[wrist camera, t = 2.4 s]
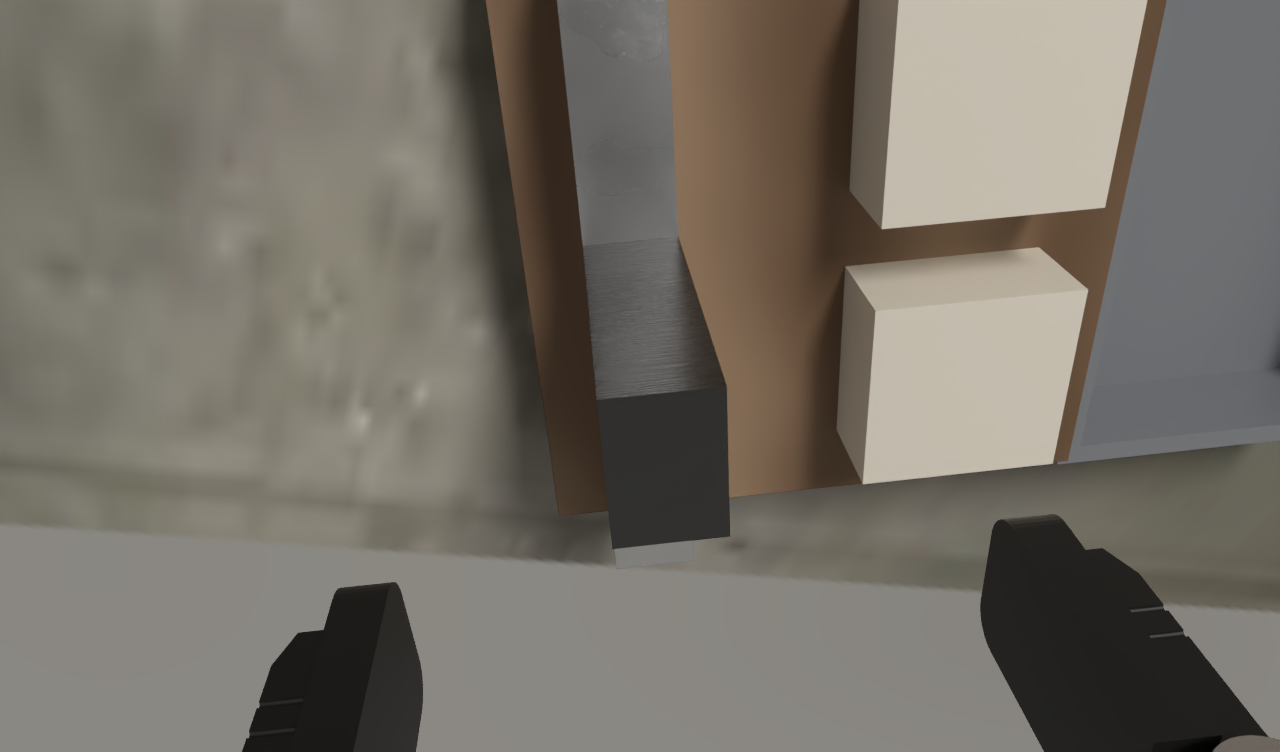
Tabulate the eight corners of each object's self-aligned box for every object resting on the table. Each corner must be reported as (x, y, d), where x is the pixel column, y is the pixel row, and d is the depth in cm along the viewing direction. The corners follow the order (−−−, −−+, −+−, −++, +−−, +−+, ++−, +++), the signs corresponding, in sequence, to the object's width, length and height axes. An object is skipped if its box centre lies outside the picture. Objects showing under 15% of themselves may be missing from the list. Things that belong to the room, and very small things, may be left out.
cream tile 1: (849, 189, 22) (881, 229, 20) (861, -35, 20) (900, -18, 18) (1051, 171, 23) (1105, 207, 20) (1089, -54, 20) (1155, -39, 18)
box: (1007, 402, 31) (1057, 464, 28) (1106, -195, 22) (1194, -197, 19) (1296, 371, 31) (1375, 429, 28) (1505, -226, 23) (1653, -233, 20)
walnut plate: (557, 437, 30) (559, 516, 27) (481, -121, 22) (470, -111, 18) (1009, 389, 31) (1067, 460, 27) (1102, -170, 22) (1202, -169, 19)
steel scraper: (609, 496, 26) (636, 773, 19) (548, -89, 19) (551, -26, 11) (679, 489, 27) (734, 761, 19) (646, -97, 19) (718, -40, 11)
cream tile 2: (836, 429, 26) (862, 484, 24) (845, 266, 23) (875, 310, 21) (1011, 411, 26) (1052, 463, 24) (1038, 246, 24) (1088, 289, 21)
